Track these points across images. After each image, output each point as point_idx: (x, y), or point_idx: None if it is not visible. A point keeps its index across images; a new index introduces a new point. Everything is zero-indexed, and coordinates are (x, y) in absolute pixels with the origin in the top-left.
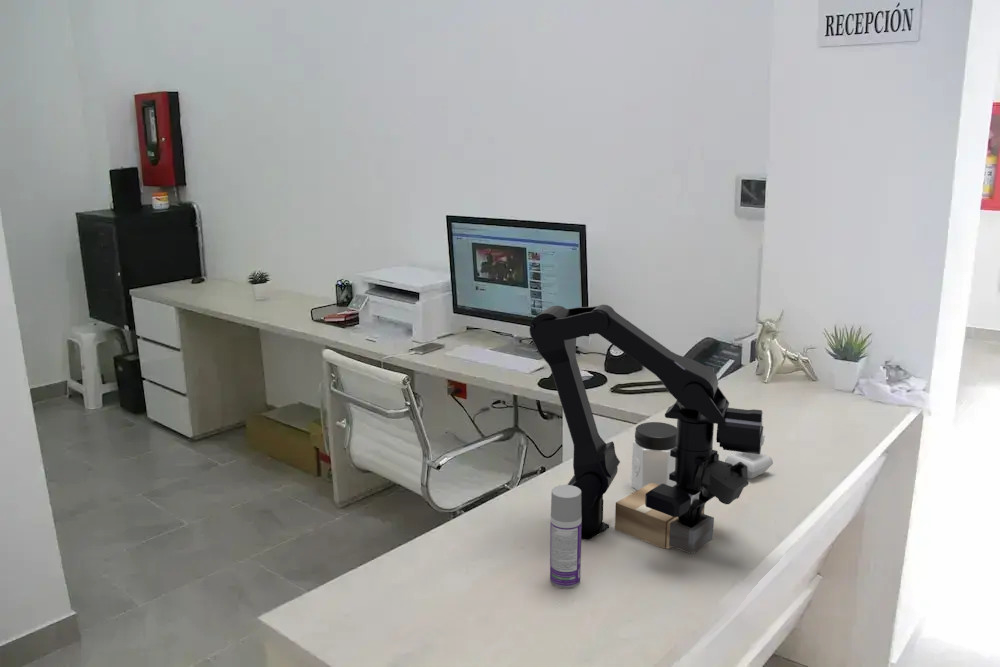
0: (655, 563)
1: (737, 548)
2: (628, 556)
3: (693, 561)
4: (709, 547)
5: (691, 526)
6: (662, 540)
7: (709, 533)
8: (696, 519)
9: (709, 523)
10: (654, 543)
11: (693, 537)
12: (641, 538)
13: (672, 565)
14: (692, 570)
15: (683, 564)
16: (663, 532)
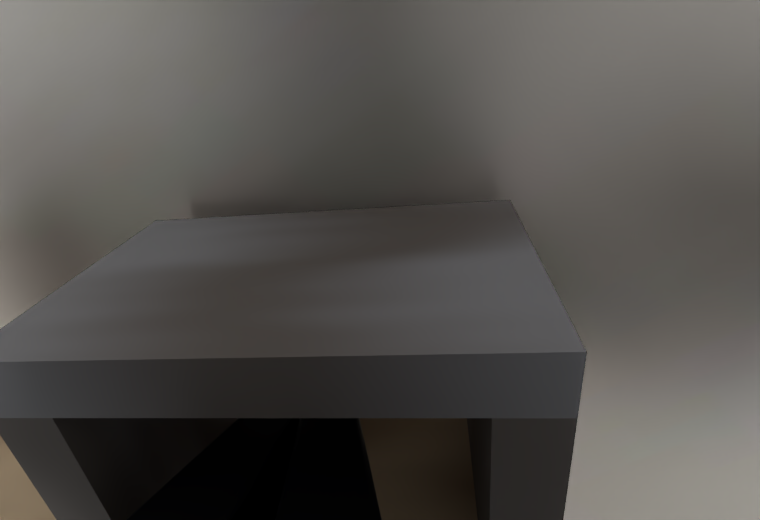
0: (732, 335)
1: (24, 13)
2: (735, 476)
3: (516, 157)
4: (227, 196)
5: (362, 433)
6: None
7: (172, 256)
8: (242, 485)
9: (106, 329)
10: None
11: (551, 288)
12: None
13: (689, 238)
14: (676, 67)
15: (619, 187)
16: None
